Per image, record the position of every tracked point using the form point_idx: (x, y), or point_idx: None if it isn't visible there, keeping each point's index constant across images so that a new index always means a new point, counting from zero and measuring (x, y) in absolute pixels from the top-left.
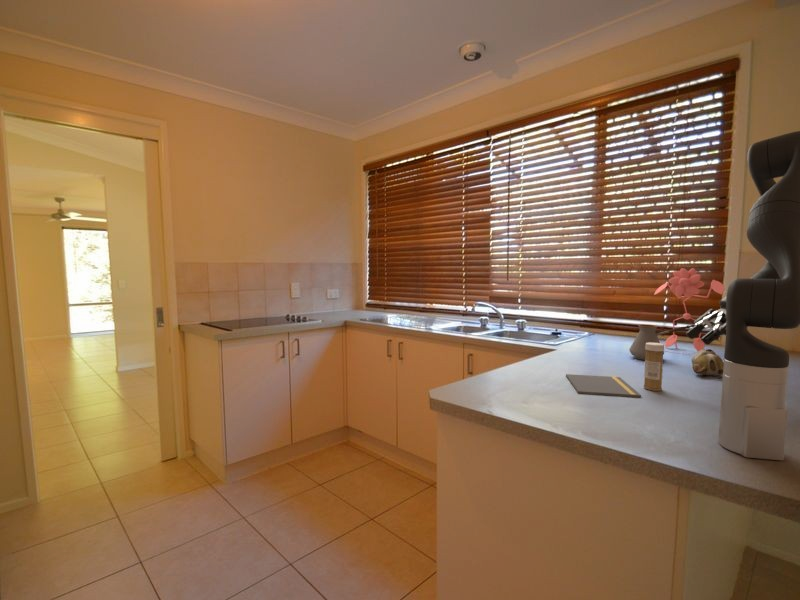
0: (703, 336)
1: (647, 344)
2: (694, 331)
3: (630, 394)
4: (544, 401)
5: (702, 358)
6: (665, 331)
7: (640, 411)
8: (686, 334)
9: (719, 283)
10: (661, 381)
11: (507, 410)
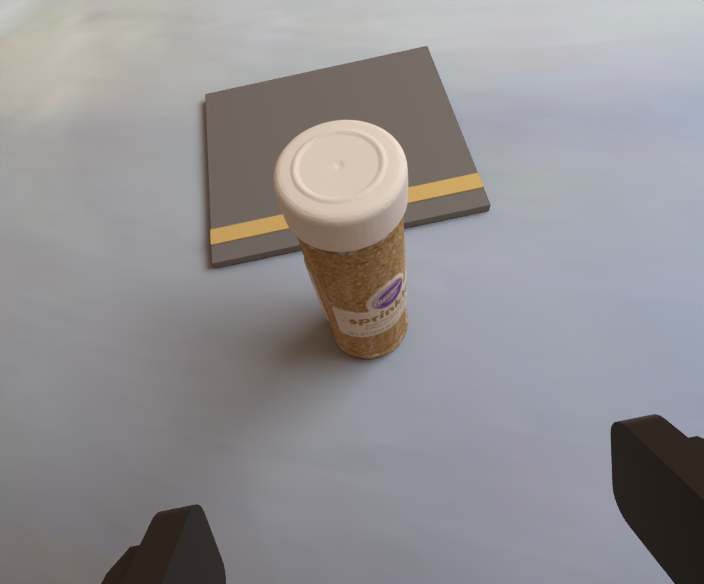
0: (170, 538)
1: (311, 128)
2: (690, 539)
3: (211, 229)
4: (109, 46)
5: None
6: None
7: (52, 252)
8: (626, 422)
9: None
10: (349, 339)
11: (31, 4)
